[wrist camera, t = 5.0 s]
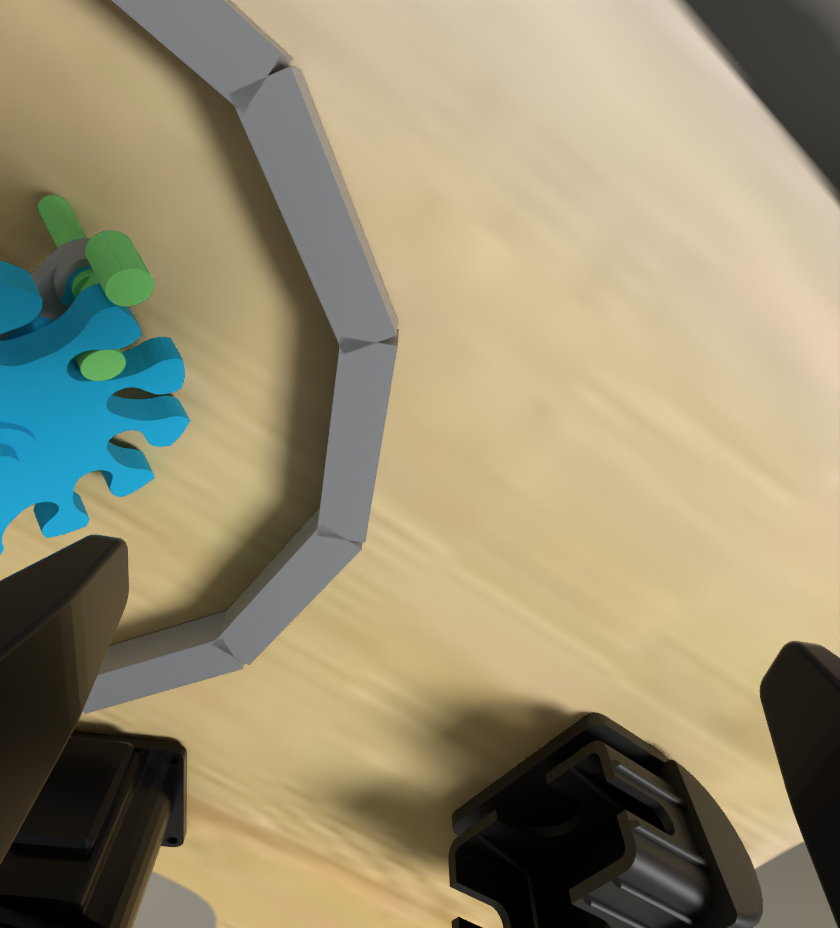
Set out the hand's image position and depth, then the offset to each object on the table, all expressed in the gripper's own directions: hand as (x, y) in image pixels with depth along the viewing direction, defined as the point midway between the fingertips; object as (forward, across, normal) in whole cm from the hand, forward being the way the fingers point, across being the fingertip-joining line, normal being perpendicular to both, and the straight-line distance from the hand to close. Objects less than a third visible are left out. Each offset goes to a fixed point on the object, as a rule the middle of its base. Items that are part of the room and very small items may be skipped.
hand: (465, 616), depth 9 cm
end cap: (+12, -10, +19) cm, 25 cm away
